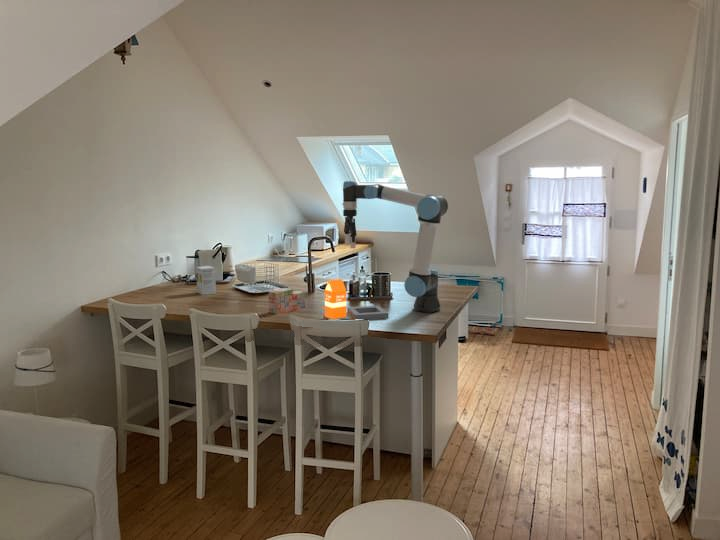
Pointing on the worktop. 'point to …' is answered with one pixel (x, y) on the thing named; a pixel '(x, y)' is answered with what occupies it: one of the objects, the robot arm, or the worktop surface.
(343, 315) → the orange juice
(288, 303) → the patterned cardboard box
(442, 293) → the worktop surface
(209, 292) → the supplement box
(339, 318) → the mat
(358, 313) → the puzzle board
